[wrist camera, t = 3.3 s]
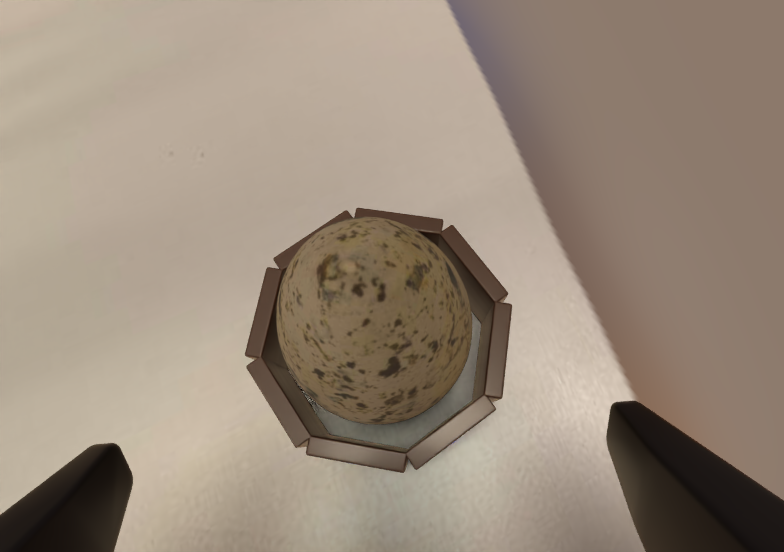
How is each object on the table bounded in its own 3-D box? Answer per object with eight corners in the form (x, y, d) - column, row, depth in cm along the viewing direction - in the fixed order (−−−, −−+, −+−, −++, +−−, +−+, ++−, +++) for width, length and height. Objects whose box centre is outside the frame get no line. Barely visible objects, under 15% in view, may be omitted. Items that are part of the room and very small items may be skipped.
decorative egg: (417, 455, 19) (417, 478, 9) (281, 378, 20) (155, 329, 10) (486, 315, 20) (547, 210, 11) (356, 250, 21) (305, 102, 12)
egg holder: (538, 371, 20) (563, 358, 16) (356, 509, 18) (343, 526, 15) (408, 209, 22) (407, 168, 18) (240, 323, 21) (205, 302, 17)
